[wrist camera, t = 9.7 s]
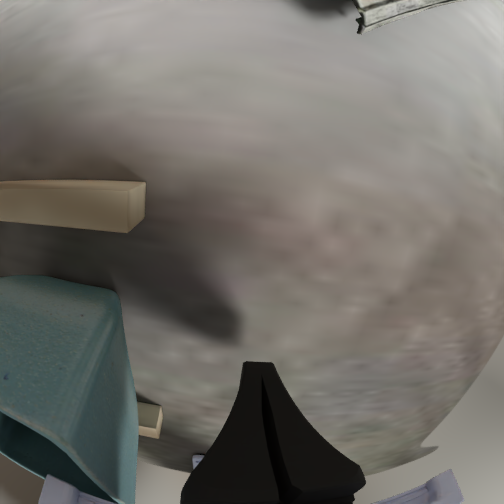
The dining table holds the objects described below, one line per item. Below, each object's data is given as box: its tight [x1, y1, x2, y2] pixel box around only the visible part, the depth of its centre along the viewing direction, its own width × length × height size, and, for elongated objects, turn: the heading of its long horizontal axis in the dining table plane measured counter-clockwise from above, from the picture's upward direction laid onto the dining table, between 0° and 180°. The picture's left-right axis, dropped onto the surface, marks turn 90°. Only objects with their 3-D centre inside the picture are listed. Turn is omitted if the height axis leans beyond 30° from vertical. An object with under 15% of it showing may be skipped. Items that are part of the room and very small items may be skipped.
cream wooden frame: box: [0, 180, 163, 439], centre depth 12 cm, size 16×14×2 cm
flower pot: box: [0, 275, 139, 504], centre depth 9 cm, size 9×9×9 cm
